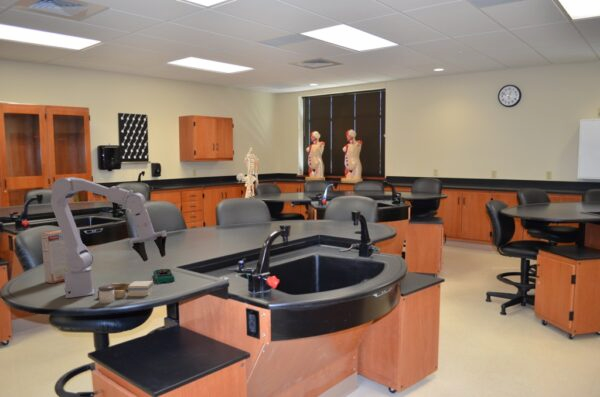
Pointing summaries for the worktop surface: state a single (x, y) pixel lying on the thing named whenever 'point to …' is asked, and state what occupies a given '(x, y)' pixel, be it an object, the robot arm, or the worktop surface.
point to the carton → (140, 288)
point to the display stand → (119, 289)
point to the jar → (106, 294)
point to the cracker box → (54, 256)
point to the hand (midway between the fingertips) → (154, 258)
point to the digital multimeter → (163, 275)
